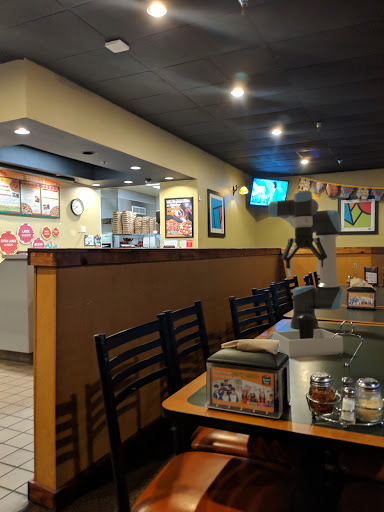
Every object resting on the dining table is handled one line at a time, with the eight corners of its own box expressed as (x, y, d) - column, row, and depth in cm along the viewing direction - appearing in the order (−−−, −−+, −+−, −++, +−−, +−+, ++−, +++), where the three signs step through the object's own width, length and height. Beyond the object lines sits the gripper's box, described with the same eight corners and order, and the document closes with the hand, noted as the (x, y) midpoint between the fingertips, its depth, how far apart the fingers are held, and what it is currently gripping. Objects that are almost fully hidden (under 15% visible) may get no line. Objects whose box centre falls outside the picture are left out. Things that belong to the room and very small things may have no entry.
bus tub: (322, 343, 185) (321, 328, 185) (343, 353, 168) (342, 336, 168) (272, 347, 181) (272, 332, 181) (289, 357, 164) (288, 340, 164)
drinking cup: (316, 350, 170) (315, 303, 170) (298, 350, 172) (297, 303, 171) (315, 346, 177) (313, 301, 177) (297, 345, 179) (296, 301, 179)
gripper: (279, 226, 168) (281, 277, 168) (334, 225, 172) (335, 274, 173) (273, 227, 175) (274, 276, 176) (325, 226, 180) (327, 274, 180)
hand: (304, 275), depth 174 cm, fingers open, 13 cm apart
